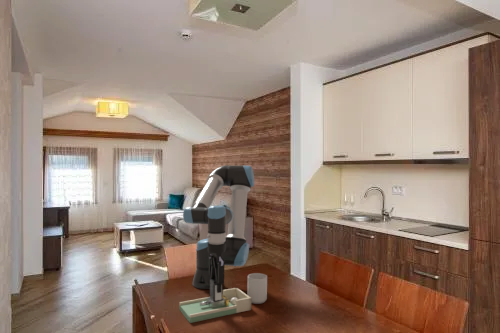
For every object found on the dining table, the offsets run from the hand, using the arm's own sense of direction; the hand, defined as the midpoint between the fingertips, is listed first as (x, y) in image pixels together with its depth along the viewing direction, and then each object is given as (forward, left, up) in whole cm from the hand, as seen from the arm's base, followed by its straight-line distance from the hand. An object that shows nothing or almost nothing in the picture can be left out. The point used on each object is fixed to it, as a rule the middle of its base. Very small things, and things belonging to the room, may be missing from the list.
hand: (216, 297), depth 142 cm
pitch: (0, 0, -5) cm, 5 cm away
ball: (0, +9, -3) cm, 9 cm away
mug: (-1, +22, -5) cm, 22 cm away
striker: (0, -1, -3) cm, 3 cm away
